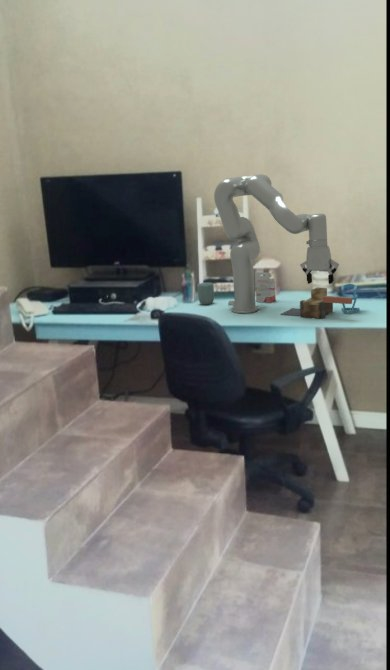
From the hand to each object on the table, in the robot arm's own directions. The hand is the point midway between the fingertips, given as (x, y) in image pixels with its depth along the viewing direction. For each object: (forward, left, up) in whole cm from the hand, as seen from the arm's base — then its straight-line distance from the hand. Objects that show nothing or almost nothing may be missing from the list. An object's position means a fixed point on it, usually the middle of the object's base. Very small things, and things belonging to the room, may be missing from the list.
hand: (320, 283), depth 276 cm
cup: (-62, +3, -14) cm, 63 cm away
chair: (+10, +7, -14) cm, 19 cm away
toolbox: (-1, -2, -14) cm, 14 cm away
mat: (-11, -1, -14) cm, 18 cm away
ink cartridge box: (-36, +16, -14) cm, 41 cm away
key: (+11, -7, -6) cm, 14 cm away
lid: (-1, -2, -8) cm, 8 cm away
